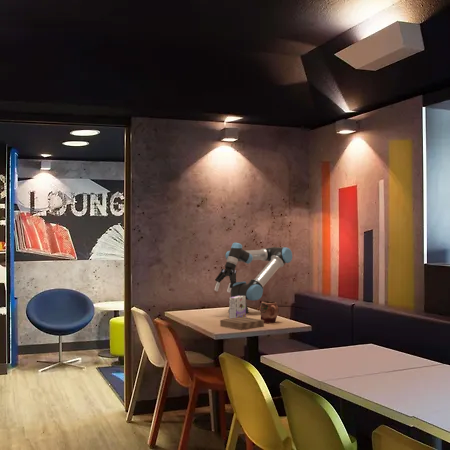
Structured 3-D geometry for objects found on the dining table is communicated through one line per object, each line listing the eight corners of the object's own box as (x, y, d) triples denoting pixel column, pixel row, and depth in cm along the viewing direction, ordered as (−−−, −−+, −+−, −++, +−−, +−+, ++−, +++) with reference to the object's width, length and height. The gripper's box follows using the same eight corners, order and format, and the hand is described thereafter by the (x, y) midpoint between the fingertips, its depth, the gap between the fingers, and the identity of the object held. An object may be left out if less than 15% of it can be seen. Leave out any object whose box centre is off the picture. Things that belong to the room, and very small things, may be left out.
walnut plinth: (243, 322, 405) (243, 316, 405) (264, 326, 390) (263, 320, 390) (220, 326, 392) (220, 319, 392) (241, 329, 377) (241, 323, 377)
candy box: (238, 318, 422) (238, 295, 422) (246, 319, 419) (246, 295, 419) (228, 321, 411) (228, 297, 411) (236, 322, 408) (236, 297, 408)
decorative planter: (285, 323, 399) (285, 302, 399) (269, 325, 394) (269, 303, 394) (269, 319, 417) (269, 299, 417) (254, 321, 412) (254, 300, 412)
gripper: (216, 260, 438) (207, 288, 432) (239, 262, 419) (229, 290, 413) (223, 264, 443) (214, 292, 437) (246, 266, 424) (237, 294, 418)
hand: (221, 291), depth 425 cm, fingers open, 13 cm apart
